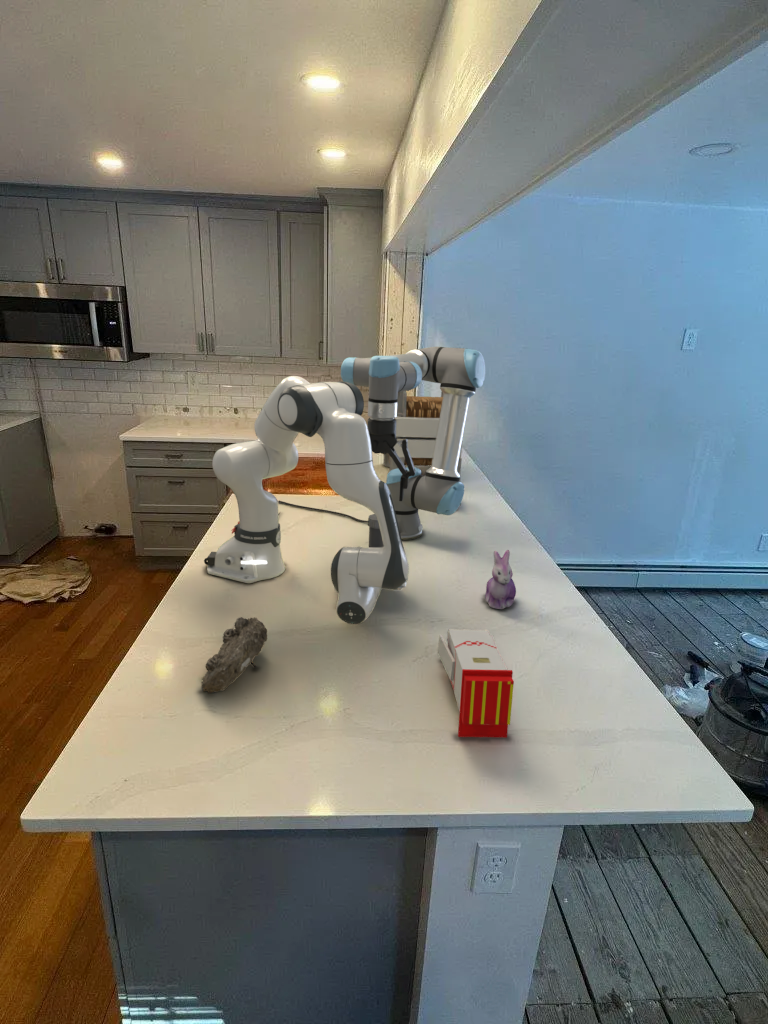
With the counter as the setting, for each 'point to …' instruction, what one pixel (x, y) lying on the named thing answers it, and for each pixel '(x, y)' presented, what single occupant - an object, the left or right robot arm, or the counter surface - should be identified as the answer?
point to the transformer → (417, 429)
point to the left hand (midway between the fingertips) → (376, 562)
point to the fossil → (234, 654)
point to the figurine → (501, 583)
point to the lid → (373, 521)
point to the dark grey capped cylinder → (375, 538)
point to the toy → (478, 682)
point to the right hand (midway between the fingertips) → (378, 497)
